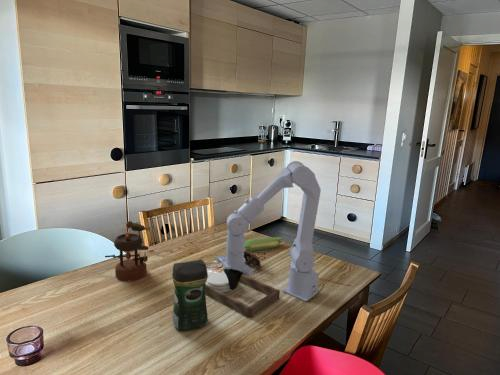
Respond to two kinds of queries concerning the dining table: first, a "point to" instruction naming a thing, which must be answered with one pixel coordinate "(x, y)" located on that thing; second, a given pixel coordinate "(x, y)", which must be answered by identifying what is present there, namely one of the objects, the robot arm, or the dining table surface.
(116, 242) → the music box
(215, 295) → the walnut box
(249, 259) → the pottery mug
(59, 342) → the dining table surface
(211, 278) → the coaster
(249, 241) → the edible corn
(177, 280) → the coffee jar
